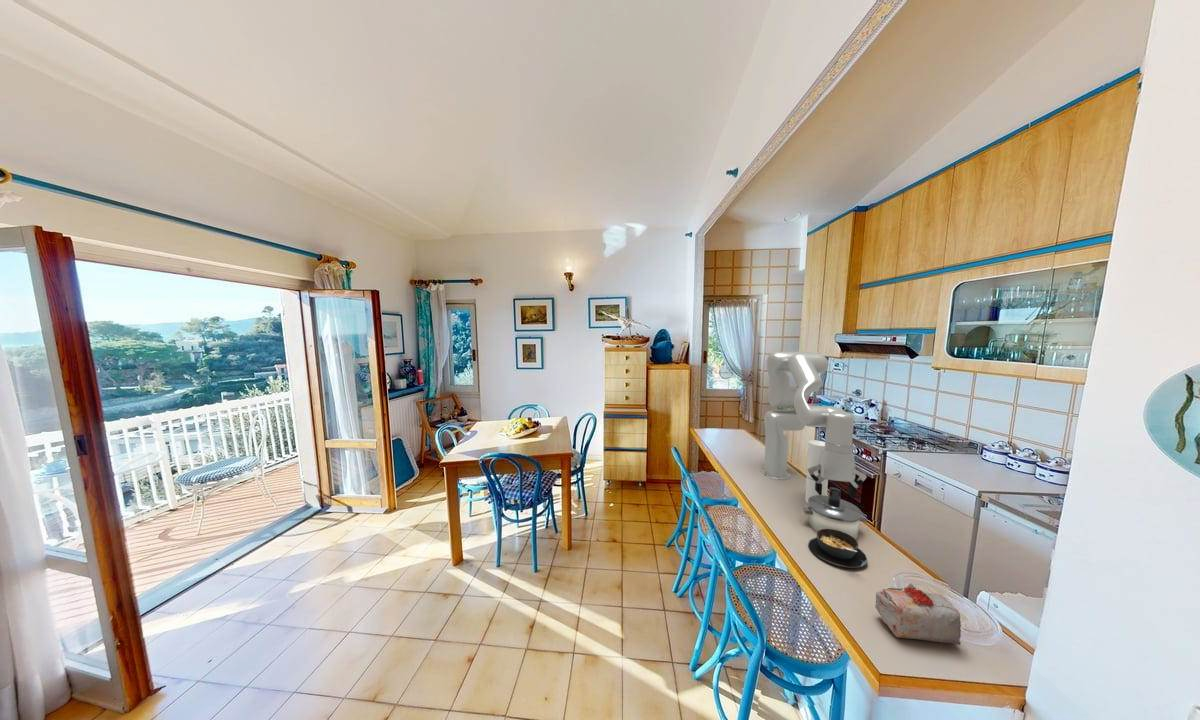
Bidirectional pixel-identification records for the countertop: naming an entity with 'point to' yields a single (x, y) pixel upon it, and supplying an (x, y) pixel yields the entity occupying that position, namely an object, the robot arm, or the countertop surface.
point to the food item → (919, 615)
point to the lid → (834, 506)
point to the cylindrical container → (812, 461)
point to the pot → (833, 523)
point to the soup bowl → (837, 548)
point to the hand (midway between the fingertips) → (834, 495)
